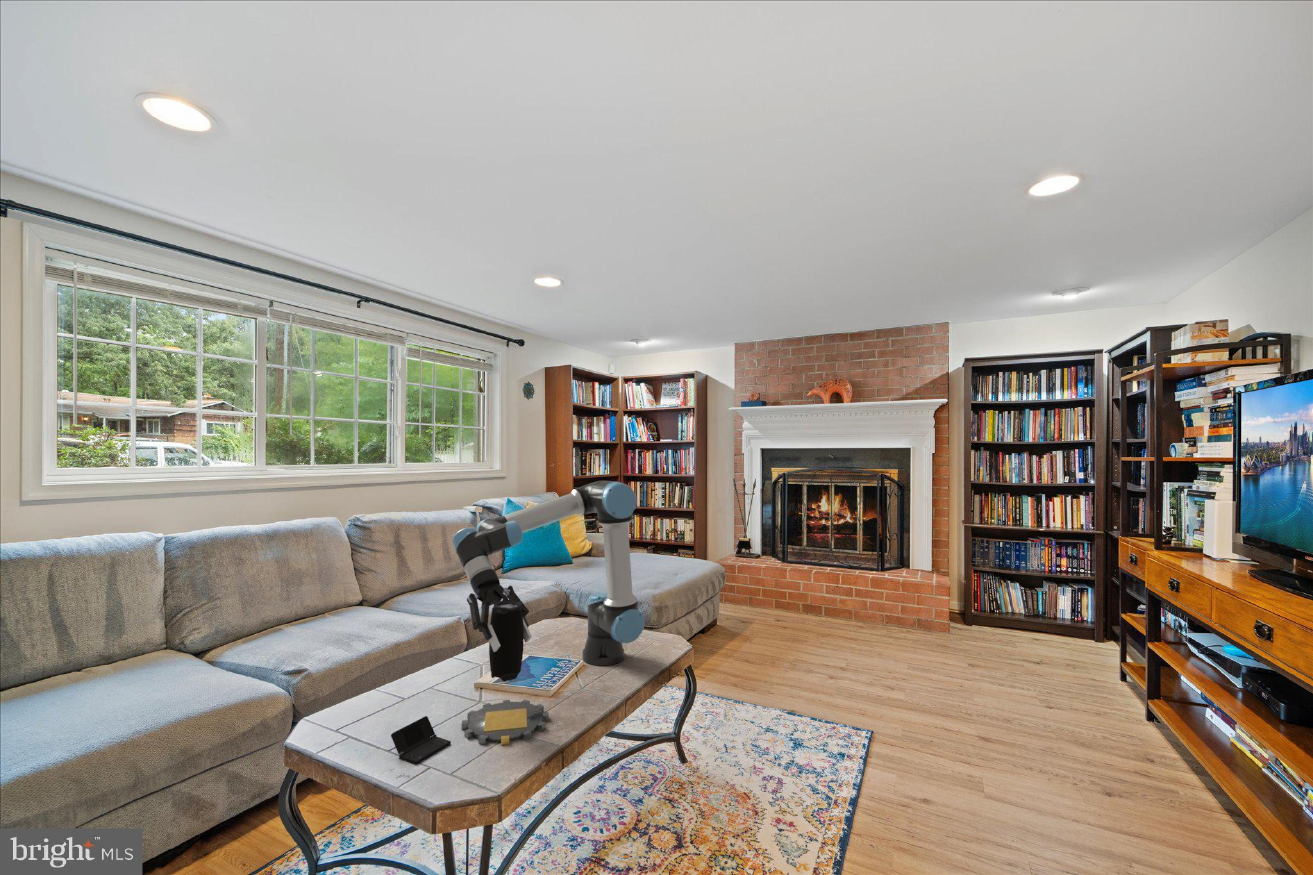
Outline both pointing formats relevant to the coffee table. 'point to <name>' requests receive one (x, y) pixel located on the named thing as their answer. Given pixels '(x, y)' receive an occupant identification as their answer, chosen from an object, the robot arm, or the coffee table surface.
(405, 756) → the handheld gaming console
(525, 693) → the coffee table surface
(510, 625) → the portable speaker
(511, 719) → the sprocket plate
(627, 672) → the coffee table surface
